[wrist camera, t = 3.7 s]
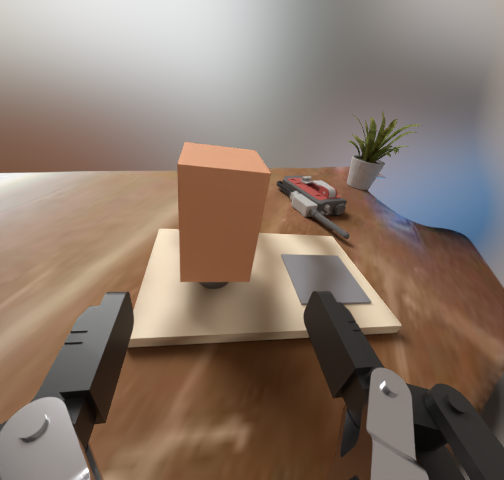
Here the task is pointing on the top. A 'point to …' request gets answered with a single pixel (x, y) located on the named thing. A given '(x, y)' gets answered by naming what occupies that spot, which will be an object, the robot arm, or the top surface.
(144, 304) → the post stand
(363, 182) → the house plant
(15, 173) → the top surface
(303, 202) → the walkie-talkie
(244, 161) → the tall salmon pillar
